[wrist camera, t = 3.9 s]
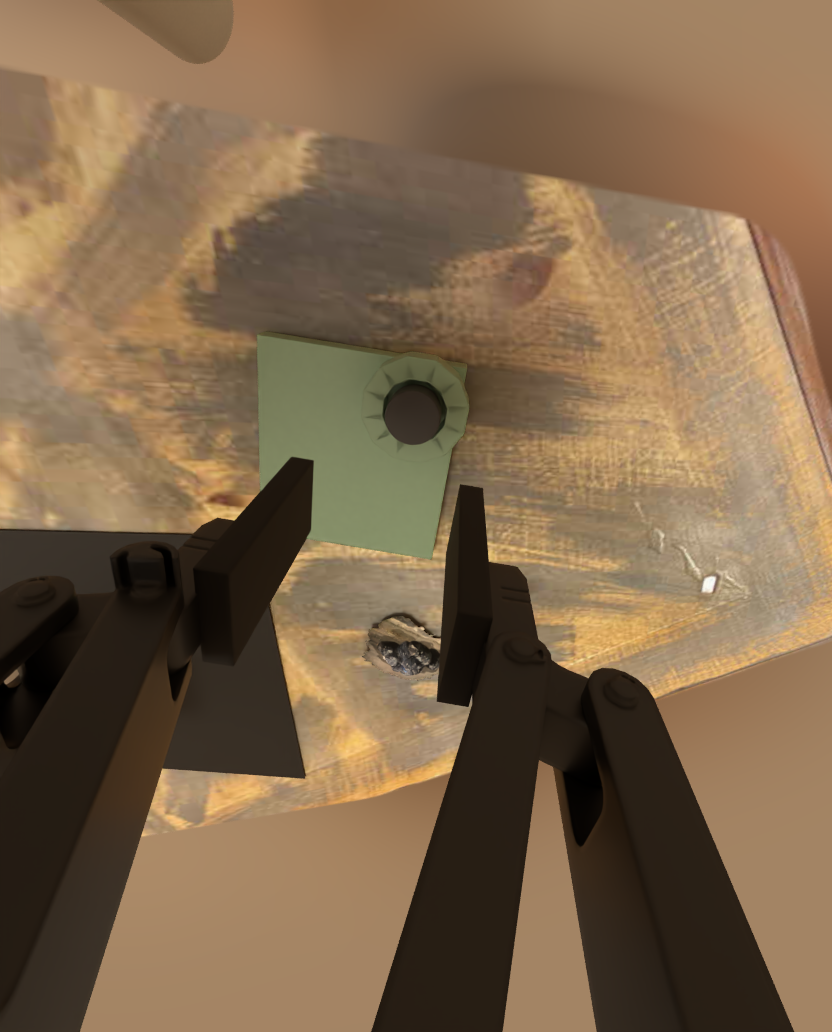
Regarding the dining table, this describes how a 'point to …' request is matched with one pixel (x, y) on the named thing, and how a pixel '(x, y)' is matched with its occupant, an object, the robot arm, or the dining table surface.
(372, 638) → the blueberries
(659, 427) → the dining table surface
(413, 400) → the button
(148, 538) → the display pedestal stand
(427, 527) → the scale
